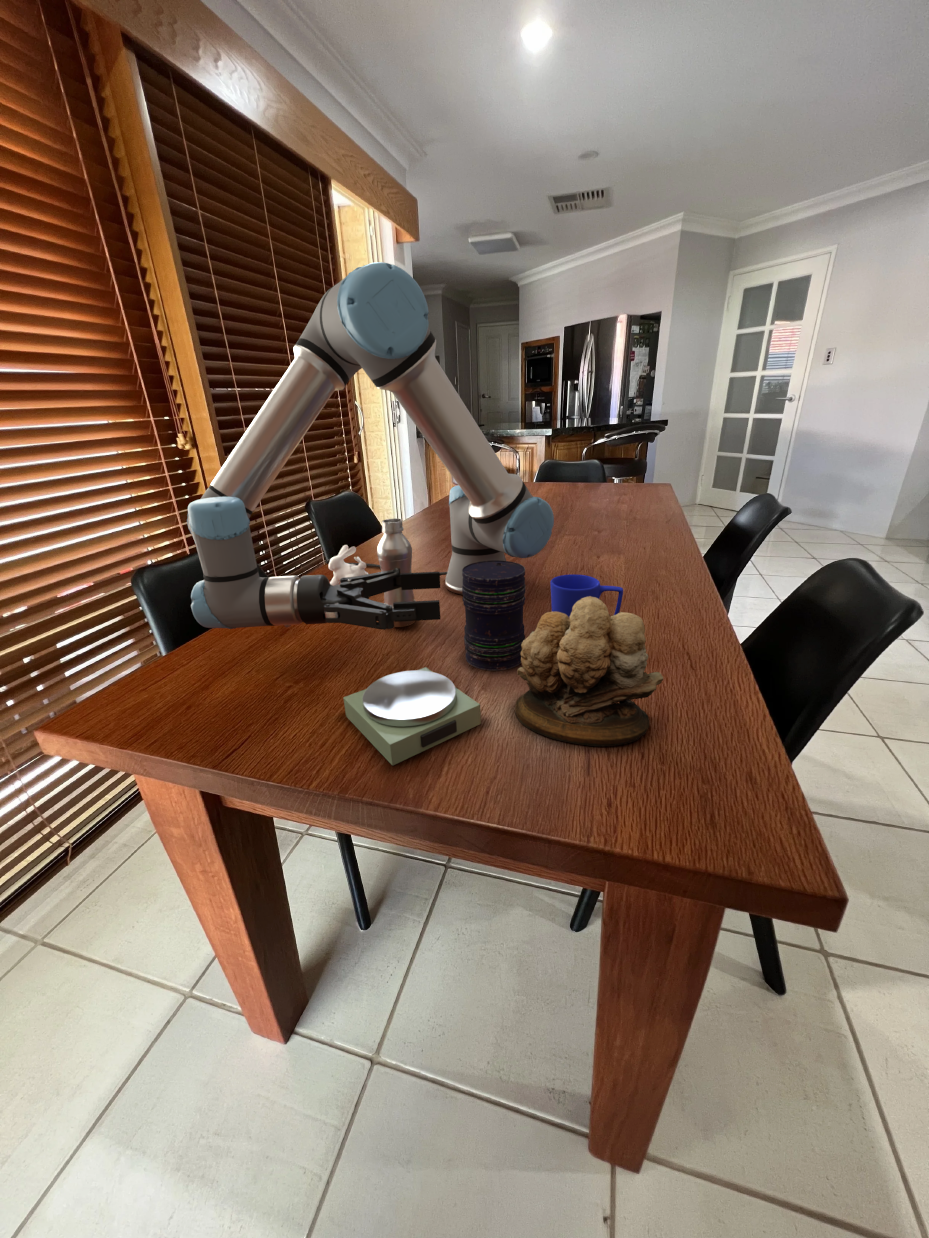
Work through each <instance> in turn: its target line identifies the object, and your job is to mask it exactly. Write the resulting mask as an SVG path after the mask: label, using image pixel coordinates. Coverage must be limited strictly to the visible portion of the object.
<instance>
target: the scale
mask: <svg viewBox="0 0 929 1238" xmlns="http://www.w3.org/2000/svg"><path fill="white" fill-rule="evenodd" d="M418 670H421V671H430V672H433V671H432V670H431V669H429V668H428V667H427V666H425V667H422V668H419V669H418ZM455 688H456V702H455V704H454V706H453V707H452V709H451V710H450V711H449V712H447V713H446V714H445V715H443V716H442V717H440V718H438V719H436V720H434V721H431V722H428V723H425V724H421V725H416V726H405V727H401V726H390V725H385V724H381V723H379V722H376V721H374V720H373V719H371V718H370V717H369V716H368V715H367V714H366V713H365V711H364V708H363V701H362V698H363V694H364V692H365V690H366V689H367V688H365V689H362V690H359V691H357V692H354V693H352V694H348V695H346V696H344V697H343V698H342V699H343V705H344V712H345V717H346V718H347V719H348V720H349V721H350V722H351V724H352V725H354V726H355V728H356V729H357V730H358V731H359V732H360V733H361V735H363V736H364V737H365V738H366V739H367V741H368V742H370V744H371V745H372V746H373V747H374V748H375V749H376V750H377V751H378V752H379V753H380V755H382V756H383V757H384V758H385V760H386V761H387V762H388V763H389V764H390V765H391V766H395V765H398V764H400V763H402V762H403V761H406V760H408V759H410V758H412V757H414V756H416V755H418V754H421V753H422V752H425V751H427V750H429V749H431V748H433V747H436V746H437V745H440V744H441V743H443V742H446V741H448V740H450V739H452V738H455V737H456V736H458V735H461V734H463V733H464V732H467V731H469V730H471V729H473V728H475V727H478V726H479V725H482V722H481V721H482V720H481V718H482V717H481V703H479V702H477V701H476V700H475V699H473V698H472V697H470V696H468V695H467V694H466V693H464V692H463V691H461V690H460V689H459V688H457V687H455Z"/></svg>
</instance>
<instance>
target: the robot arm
mask: <svg viewBox="0 0 929 1238" xmlns="http://www.w3.org/2000/svg"><path fill="white" fill-rule="evenodd" d="M429 315H430V311H429V306H428V303H427V299H426V296H425V294H424V292H423V290H422V288H421V286H420V285H419V283H418V282H417V280H416V279H414V278H413V276H412V275H411V274H409V272H407V271H406V270H404V269H403V268H401V267H399V266H398V265H396V264H391V263H389V262H383V261H377V262H376V261H375V262H370V263H368V264H364V265H362V266H358V267H356V268H355V269H353V270H352V271H350V272H349V273H348V274H347V275H346V276H345V277H344V278H342V280H340V281H339V282H337V283H336V284H334V285H333V286H331V287H330V288H329V289H328V290H327V291H326V292H325V293H324V294H323V295H322V297H321V299H320V301H319V302H318V304H317V305H316V308H315V310H314V312H313V314H312V315H311V317H310V319H309V320H308V323H307V325H306V326H305V328H304V330H303V331H302V334H301V335H300V336H299V338H298V340H297V341H296V343H295V344H294V345H293V348H292V350H293V355H294V359H293V360H292V362H291V363H290V365H289V366H288V368H287V370H286V371H285V372H284V374H283V375H282V377H281V378H280V380H279V382H278V383H277V384H276V385H275V387H274V388H273V390H272V391H271V393H270V394H269V396H268V398H267V399H266V401H265V402H264V404H263V405H262V406H261V408H260V410H258V413H257V414H256V416H255V417H254V418H253V420H252V422H251V423H250V424H249V426H248V427H247V429H246V430H245V432H244V433H243V435H242V436H241V438H240V439H239V440H238V442H237V444H236V445H235V447H234V448H233V449H232V451H231V452H230V454H229V455H228V457H227V459H225V460H226V461H225V462H224V463H223V465H222V466H221V468H220V469H219V470H218V472H217V473H216V475H215V476H214V478H213V480H212V481H211V482H210V485H209V486H208V487H207V489H206V490H205V491H204V493H203V494H202V496H201V498H200V499H196V500H194V501H192V502H189V504H188V506H187V519H186V524H187V528H188V530H189V533H190V535H192V538H193V540H194V544H195V547H196V551H197V556H198V558H199V563H200V566H201V570H202V574H203V580H199V581H198V582H196V583H195V584H194V586H193V587H192V590H191V593H190V599H191V604H190V608H191V612H192V615H193V617H194V619H195V620H196V622H197V623H198V624H199V625H200V626H202V627H204V628H206V629H207V628H208V629H228V630H233V629H235V630H236V629H240V628H257V627H274V626H284V627H285V628H290V627H291V626H294V625H301V624H302V623H303V624H305V625H321V624H344V625H350V626H358V627H363V628H369V629H375V630H376V629H377V630H392V629H395V627H394V621H395V622H402V621H415V622H419V621H440V620H441V605H440V602H441V601H440V600H439V599H435V600H433V599H432V600H431V599H430V600H415V601H409V602H393V608H392V606H391V605H388V604H384V602H380V601H376V600H373V599H370V598H372V597H375V596H377V595H381V594H384V592H388V591H391V590H394V589H398V588H402V590H413V591H414V590H433V589H441V576H445V588H446V589H447V590H448V591H449V592H451V593H453V594H457V595H461V596H463V593H462V585H463V576H462V569H463V568H464V567H465V566H467V565H469V564H472V563H475V562H481V561H491V560H500V561H507V558H506V554H507V556H509V557H511V558H519V559H529V558H531V557H534V556H536V555H537V554H539V553H540V552H542V550H543V549H544V548H545V546H546V545H547V544H548V543H549V541H550V539H551V536H552V534H553V529H554V526H555V515H554V511H553V509H552V507H551V505H550V504H549V502H548V501H546V500H544V499H542V498H541V497H539V496H534V495H533V494H532V493H531V491H530V490H529V489H528V487H527V486H526V484H525V482H524V480H523V479H522V478H521V476H520V475H519V474H516V473H509V472H508V471H507V469H506V468H505V466H504V465H503V463H502V462H501V460H500V458H499V456H498V455H497V453H496V452H495V450H494V449H493V447H492V445H491V444H490V442H489V441H488V439H487V438H486V436H485V435H484V433H483V431H482V429H481V428H480V427H479V425H478V423H477V422H476V420H475V419H474V417H473V415H472V414H471V412H470V411H469V409H468V408H467V406H466V404H465V403H464V401H463V399H462V398H461V396H460V395H459V393H458V392H457V391H456V388H455V386H454V385H453V384H452V381H450V379H449V377H448V376H447V374H446V373H445V371H444V370H443V367H442V366H441V364H440V363H439V362H438V359H437V358H436V348H437V347H436V346H437V339H436V338H435V336H434V334H433V332H432V331H431V329H430V328H429V325H430V322H429ZM360 370H363V371H364V373H365V374H366V375H367V377H368V378H369V379H370V381H371V382H372V384H373V385H374V387H376V389H377V390H382V391H388V392H390V393H392V395H393V396H394V398H396V400H397V401H398V403H399V405H400V406H401V407H402V408H403V410H404V411H405V413H406V414H407V416H408V417H409V418H410V419H411V421H412V422H413V424H414V425H415V427H416V428H417V430H418V431H419V432H420V434H421V435H422V436H423V438H424V440H426V442H427V444H429V446H430V448H431V449H432V451H433V452H434V453H435V454H436V456H437V457H438V459H439V460H440V461H441V463H442V464H443V465H444V467H445V468H446V470H447V471H448V472H449V474H450V475H451V477H452V478H453V479H454V482H456V484H457V485H455V486H452V487H451V488H450V489H449V495H448V496H449V497H448V506H449V520H450V521H449V522H450V523H449V524H450V536H451V537H450V538H451V539H450V541H451V557H450V560H449V564H448V568H447V571H441V572H440V571H421V572H412V573H400V568H394V569H393V570H388V571H383V572H382V571H377V572H373V573H368V574H366V575H361V576H356V577H343V578H340V583H339V584H338V585H334V586H332V585H331V584H330V580H329V578H328V577H327V576H326V575H324V574H308V575H302V576H300V577H299V576H298V575H282V576H268V577H267V576H266V577H263V576H260V573H259V567H258V564H257V559H256V554H255V548H254V545H253V544H254V543H253V539H252V537H253V536H252V533H251V527H250V524H251V520H250V518H251V516H252V515H253V513H254V511H255V510H256V508H257V506H258V505H259V503H260V502H261V500H262V499H263V497H264V496H265V494H266V493H267V491H268V489H270V487H271V486H272V484H273V483H274V481H275V480H276V478H277V477H278V476H279V474H280V472H281V471H282V469H283V468H284V467H285V465H286V464H287V462H288V460H289V459H290V457H291V456H292V455H293V453H294V451H296V449H297V447H298V446H299V444H300V443H301V441H302V439H303V438H304V437H305V435H306V434H307V432H308V431H309V429H310V428H311V427H312V425H313V424H314V422H315V420H316V419H317V418H318V416H319V415H320V413H321V411H322V410H323V408H324V407H325V406H326V404H327V402H329V399H330V398H331V397H332V395H333V394H334V392H335V391H342V390H345V388H346V386H347V384H348V383H349V382H350V380H351V379H352V378H353V377H354V376H355V375H356V374H357V373H358V372H359V371H360ZM330 559H331V558H328V559H327V560H326V561H325V564H329V562H330ZM347 563H348V564H354V565H356V566H357V565H358V564H359V562H347ZM365 563H366V567H373V568H380V569H381V567H380V564H378V563H367V562H365Z"/></svg>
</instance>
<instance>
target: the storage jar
mask: <svg viewBox="0 0 929 1238" xmlns="http://www.w3.org/2000/svg"><path fill="white" fill-rule="evenodd" d="M462 576H463V585H462V593H463V595H462V602H463V603H462V604H463V606H464V613H465V615H464V617H465V625H464V627H463V628H464V631H463V632H464V636H463V641H464V648H465V661H466V662H467V664H469V665H470V666H472V667H474V668H476V669H480V670H482V671H483V670H484V671H493V672H494V671H505V670H510V669H512V668H515V667H517V666H519V665H520V664H522V662H521V657H522V656H521V651H522V647H521V644H522V642H523V641H524V640H525V639H526V634H525V624H524V605H525V603H526V577H525V576H526V568H525V566H524V565H523V564H521V563H518V562H515V561H510V560H506V561H500V560H491V561H481V562H475V563H472V564H469V565H467V566H465V567H464V568H463V569H462Z"/></svg>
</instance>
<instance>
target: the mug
mask: <svg viewBox="0 0 929 1238" xmlns="http://www.w3.org/2000/svg"><path fill="white" fill-rule="evenodd" d="M604 592H617V593H618V595H617V600H616V601H617V602H616V605H615V606H616V607H615V610H614V612H613V613H614V614H613V615H616V614H618V613H620V612H621V608H622V601H623V596H624V588H623V587H621V586H615V585H601V581H600V580H598V579H597V578H595V577H593V576H589V575H584V574H562V575H558V576H554V577H552V579H551V580H550V599H551V600H550V601H551V602H550V603H551V612H552V611H555V612H556V611H557V612H561V613H564V614H566V615H567V616H568V617H569V616H570V615H571V612H572V607H573V605H574V604H575V603H576V602H577V601H579V600H581V599H582V598H585V597H589V596H591V597H596V598H598V599H599V600H600V598H601V595H602V594H603V593H604ZM569 619H570V618H569Z"/></svg>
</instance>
